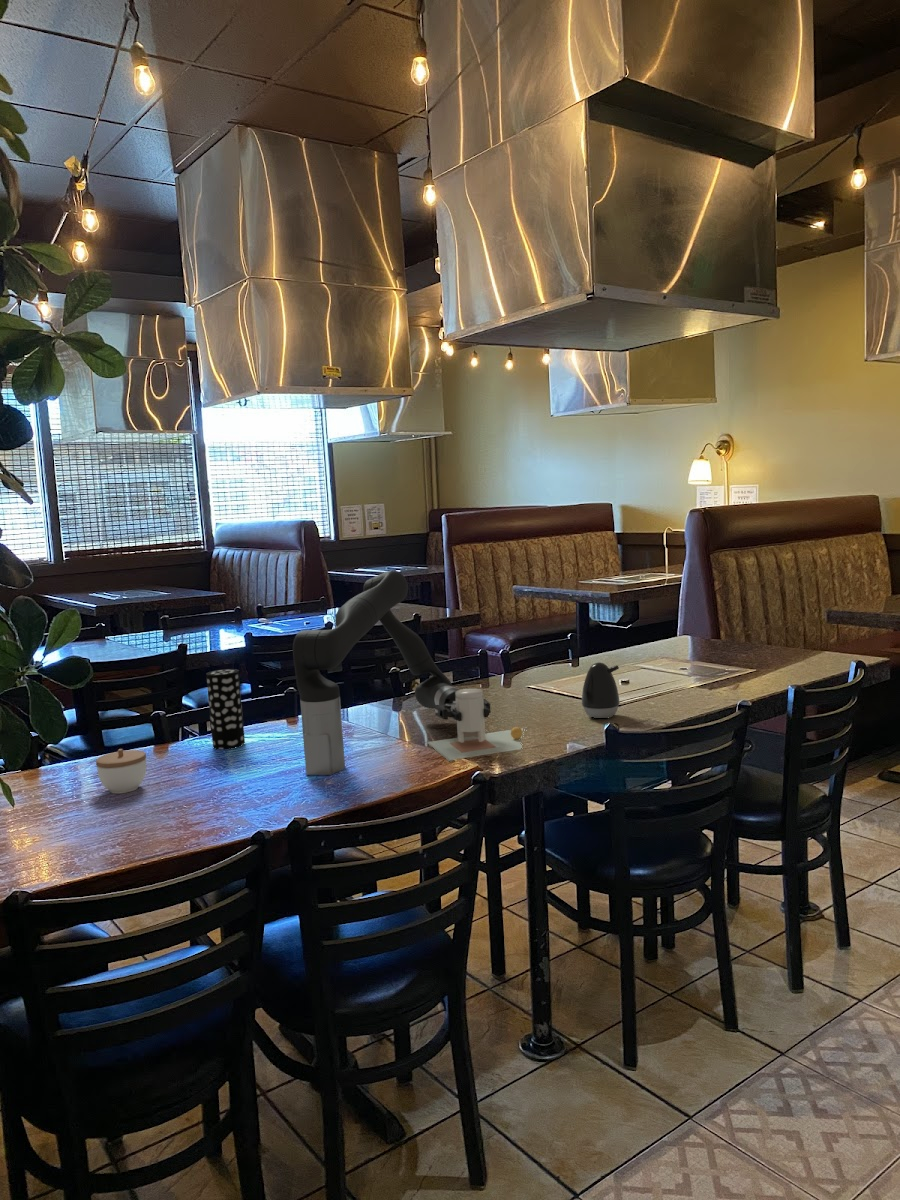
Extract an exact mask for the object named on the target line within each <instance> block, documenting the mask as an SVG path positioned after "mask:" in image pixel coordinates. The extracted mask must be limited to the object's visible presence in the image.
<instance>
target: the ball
mask: <svg viewBox="0 0 900 1200" xmlns="http://www.w3.org/2000/svg"><path fill="white" fill-rule="evenodd" d="M520 728H521V727H518V726H515V727H512V728H511V729H510V730H511V736H512V737H513V738H514V739H519V738H521V736H522V734H523V733H522V730H521V729H520Z"/></svg>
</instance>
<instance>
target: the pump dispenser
mask: <svg viewBox="0 0 900 1200" xmlns="http://www.w3.org/2000/svg"><path fill="white" fill-rule="evenodd" d="M619 669H620V668H619V665H614V666H611V667H608V666H607V664H605V663H603V662H595V663H593V664H591V666H590V667H589V670H588V671H587V673H586V675H585V679H584V682H583V686H582V695H581V706H582V707H583V711H584V712H585V714H586V715H587V716H588V717H590V718H591V717H594V718H608V717H610V718H612V717H613V715H614V716H615V715H616V713H617V711H618V709H619V705H620V695H619V690H618V686H617V683H616V680H615V678H614V675H613V674H612V673H614V672H616V671H617V670H619ZM594 718H593V719H594ZM608 719H609V718H608Z"/></svg>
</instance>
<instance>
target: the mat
mask: <svg viewBox="0 0 900 1200" xmlns="http://www.w3.org/2000/svg"><path fill="white" fill-rule="evenodd" d="M519 728H520V729H521V730H522V731H523V728H524V727H519ZM511 730H512V729H507V730H506V729H505V730H500V731H494V732H487V733H486V732H485V736H486V739H485V740H484V741H482V742H479V738H478V737H467V738H464V742H463V743H461V742H460V741H458V737H453V738H447V739H445V738H444V739H439V740H433V741H427V745H428V744H429V745H428V746H429V747H430V748H432V747H433V748H434V749H435V752H436V753H438V754H439V753H440V754H439V755H440V756H442V757H443V758H444V759H445V758H446V761H448V762H449V761H450V762H449V763H453V762H452V761H454V762H456V761H455V760H460V759H467V758H473V757H478V756H487V755H491V754H499V753H504V752H505V753H506V752H513V751H519V750H524V749H523V748H522V745H523V744H522V743H521V742H522V741H521V738H522V736H521V738H519V739H520V740H519V739H514V738H513V737H512V736H511ZM524 731H525V729H524ZM526 731H527V730H526ZM523 733H524V732H523ZM523 735H524V734H523ZM523 737H524V736H523ZM522 740H523V739H522ZM520 741H521V742H520ZM520 743H521V744H522V745H521V744H520ZM433 748H432V749H433ZM521 748H522V749H521ZM434 749H433V750H434Z"/></svg>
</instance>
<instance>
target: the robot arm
mask: <svg viewBox="0 0 900 1200" xmlns="http://www.w3.org/2000/svg"><path fill="white" fill-rule="evenodd" d="M408 586H409V585H408V581H407V579H406V577H405V576H404V574H402V573H401V572H399V571H397V570H388V571H385V572H383V573H380V574H377V575H375V576H374V577H371V578H369V579H367V580H366V581H365V582H364V584H363V587H362V588H363V591H362V592H361V593H358V594H357V595H355V596H354V597H352V598H350V599H348V600H347V601H346V602H345V603H343V605H341V607H339V609H337V611H336V615H335V618H334V621H335V627H334V628H331V629H304V630H300V631H298V632H297V633H296V635H295V637H294V639H293V643H292V658H293V666H294V673H295V681H296V688H297V690H298V693H299V700H300V701H299V702H300V713H301V715H300V716H301V725H302V727H301V728H302V738H303V750H304V751H303V752H304V762H305V774H306V775H308V776H309V775H313V776H315V775H316V776H319V775H321V776H322V775H323V776H327V775H328V776H331V775H333V774H336V773H339V772H342V771H343V770H345V768H346V760H345V749H344V748H345V746H344V737H343V735H344V733H343V723H342V720H343V719H342V706H341V693H340V686H339V685H338V683H336V682H335V681H332V680H330V679H328V678H326V677H325V676H323V675H322V674H321V672H320V671H319V670H327V671H328V670H332V669H335V668H337V667H339V665H341V663H342V662H343V661H344V660H345V658H346V657H347V656H348V654H349V653H350V651H351V650H352V649H353V647H354V646H355V645H356V644H357V643H358V642H359V641H360V640H361V639H362V637H364V636H365V635H366V634H367V633H368V632H370V631H371V629H372V628H374V627H375V625H376V624H377V623H378V622H379V621H380V623H381V625H382V626H383V628H384V629H385V631H386V632H387V633H388V635H389V636H390V638H391V639H392V640H393V641H394V643H395V645H396V646H397V648H398V650H399V652H400V654H401V656H402V657H403V661H404V662H405V663H406V665H407V668H408V670H409V671H410V673H411V674H412V675H413V676H421V675H424V674H431V677H429V678H427V679H425V680H423V681H422V682H420V683H419V684H417V686H416V687H415V688H414V697H415V699H416V701H417V702H418V703H419V705H421V706H422V707H424V708H427V709H434V714H435V716H436V717H438V718H440V719H443V720H448V718H450V719H451V720H455V721H456V722H457V721H462V717H461V712H459V711H458V710H456V698H455V697H456V694H455V692H456V691H458V690H460V688H457V687H455V686H453V684H452V682H451V680H450V679H449V677H448V676H446V674H445V673H443V672H442V671H441V669H440V668H439V667H438V666H437V664H436V663H435V662H434V660H433V658H432V656H431V654H430V652H429V650H428V647H427V646H426V644H425V642H424V640H423V638H421V637H420V636H419V635H418V633H416V632H415V631H413V630H412V629H411V628H409V627H408V626H407V625H405V624H404V623H402V622H401V621H400V620H399V619H398V617H396V616H395V614H394V613H393V612H392V610H391V609H392V608H394V607H395V606H397V605H398V604H399V603H401V602H404V600H405V599H406V598H407V595H408V591H409V587H408ZM483 700H484V718H489V716H490V714H492V713H491V712H492V711H491V703H490V701H488V700H487V699H485V698H483Z"/></svg>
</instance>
